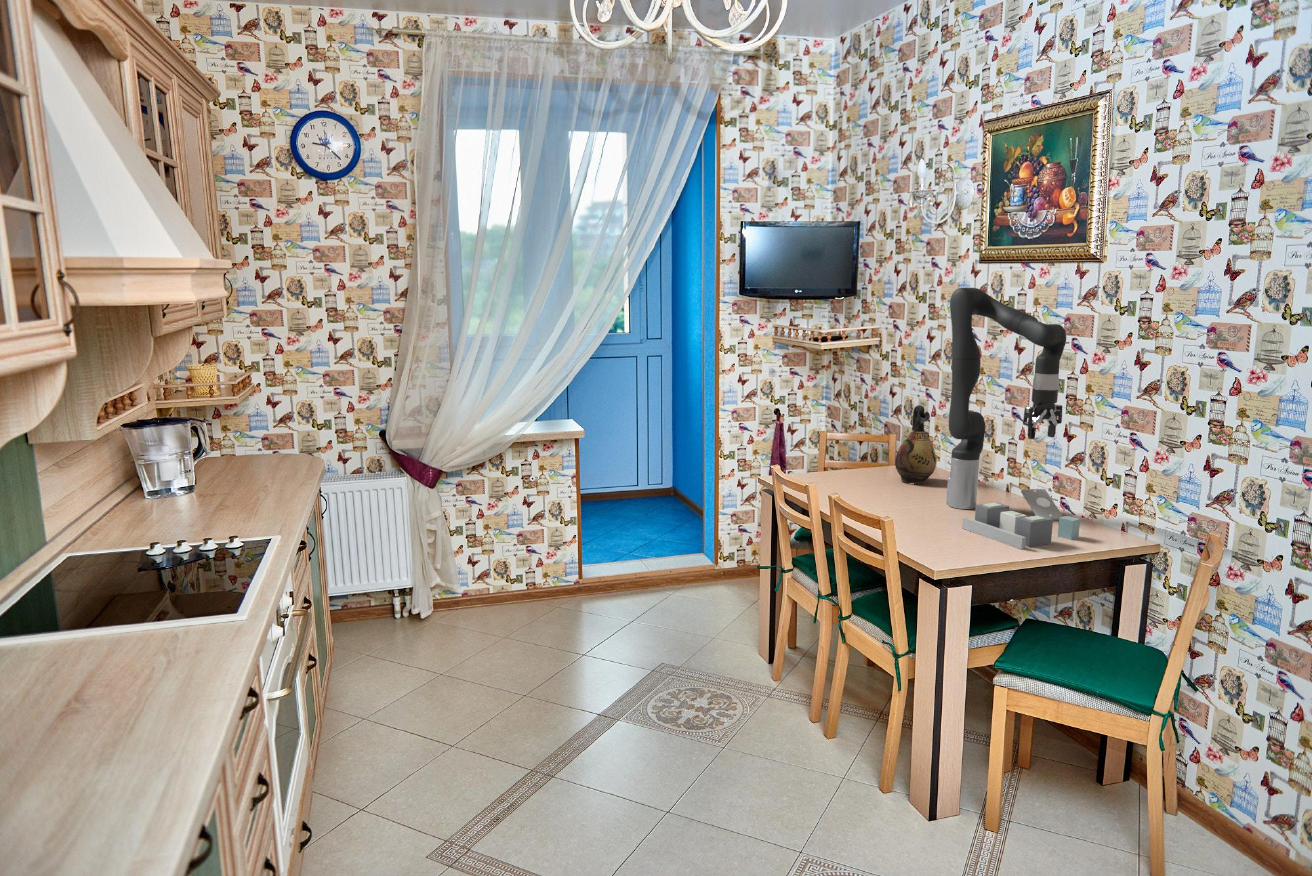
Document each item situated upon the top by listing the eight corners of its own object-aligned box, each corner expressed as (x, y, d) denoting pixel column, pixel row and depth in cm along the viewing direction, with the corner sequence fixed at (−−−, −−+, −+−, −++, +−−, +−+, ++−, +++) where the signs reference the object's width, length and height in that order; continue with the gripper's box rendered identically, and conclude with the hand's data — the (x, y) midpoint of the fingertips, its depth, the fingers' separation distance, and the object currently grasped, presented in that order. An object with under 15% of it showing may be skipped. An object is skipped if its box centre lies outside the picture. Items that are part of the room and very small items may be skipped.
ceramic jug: (940, 486, 338) (945, 409, 332) (899, 486, 338) (904, 408, 333) (927, 476, 354) (931, 402, 349) (888, 476, 354) (892, 402, 349)
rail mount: (962, 528, 279) (963, 504, 278) (993, 524, 285) (995, 500, 283) (1021, 549, 258) (1023, 523, 257) (1053, 544, 263) (1055, 519, 262)
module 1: (998, 533, 274) (1000, 511, 273) (1009, 532, 276) (1011, 509, 274) (1013, 539, 269) (1015, 515, 267) (1024, 537, 270) (1026, 514, 269)
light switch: (1041, 516, 288) (1022, 487, 299) (1035, 529, 292) (1016, 500, 303) (1065, 516, 289) (1046, 486, 300) (1059, 529, 293) (1040, 499, 304)
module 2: (1057, 536, 272) (1059, 517, 271) (1064, 534, 274) (1066, 515, 273) (1071, 540, 268) (1072, 520, 267) (1078, 537, 270) (1080, 519, 269)
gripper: (1052, 385, 285) (1047, 434, 288) (1019, 387, 279) (1015, 437, 282) (1071, 388, 278) (1066, 438, 281) (1038, 389, 273) (1034, 441, 275)
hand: (1041, 438), depth 282 cm, fingers open, 8 cm apart
